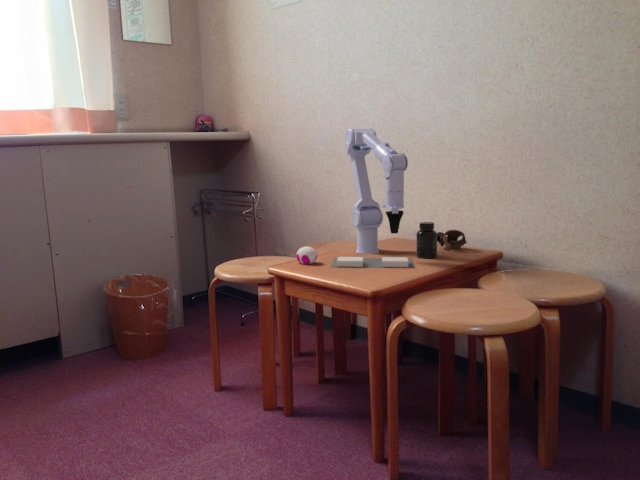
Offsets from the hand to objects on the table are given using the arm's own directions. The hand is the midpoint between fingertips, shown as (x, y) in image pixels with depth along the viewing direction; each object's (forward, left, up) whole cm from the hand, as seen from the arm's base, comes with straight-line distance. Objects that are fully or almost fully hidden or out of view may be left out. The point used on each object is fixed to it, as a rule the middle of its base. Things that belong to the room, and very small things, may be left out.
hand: (394, 233), depth 184 cm
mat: (+5, -7, -9) cm, 12 cm away
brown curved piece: (-23, +21, -10) cm, 32 cm away
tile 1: (+5, -14, -8) cm, 17 cm away
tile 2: (+5, 0, -8) cm, 9 cm away
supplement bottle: (-6, +11, -10) cm, 16 cm away
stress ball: (+6, -28, -10) cm, 31 cm away
